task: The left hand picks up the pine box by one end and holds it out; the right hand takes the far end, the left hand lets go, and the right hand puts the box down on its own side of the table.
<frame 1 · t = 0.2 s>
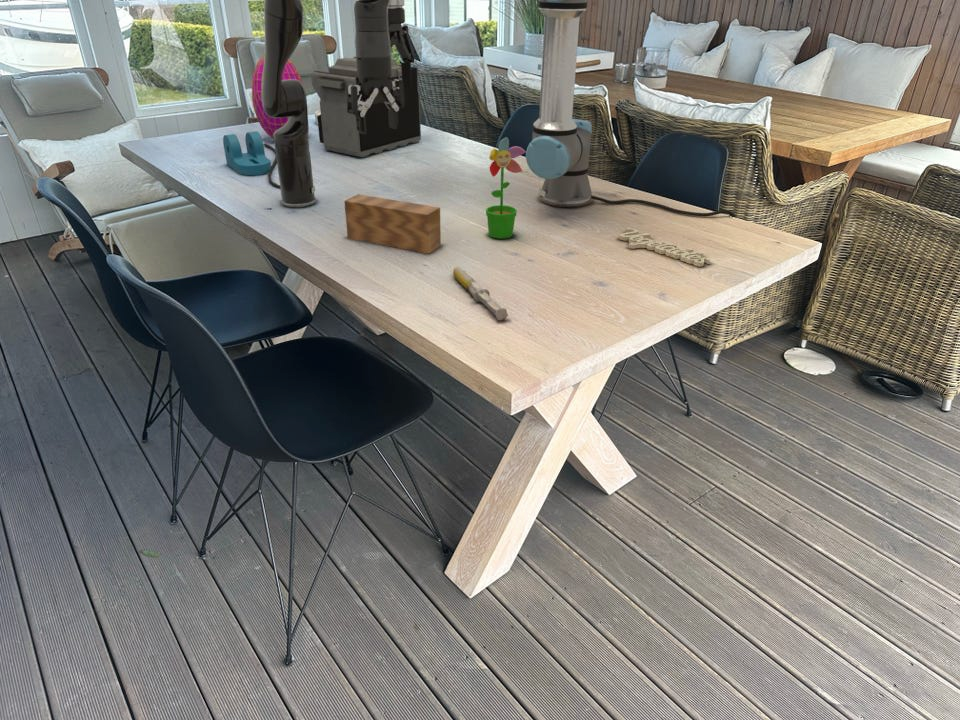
left hand: (378, 130, 156), 28 cm above the table, tool pointing down, fingers open, 8 cm apart
right hand: (395, 90, 196), 29 cm above the table, tool pointing down, fingers open, 13 cm apart
camera mount: (251, 168, 229), on the table
ashtray: (343, 122, 294), on the table
decorative sign: (659, 250, 169), on the table
box: (393, 241, 172), on the table
potted flower: (501, 235, 177), on the table
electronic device: (371, 146, 258), on the table
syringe: (478, 297, 145), on the table
decorative egg: (284, 140, 265), on the table
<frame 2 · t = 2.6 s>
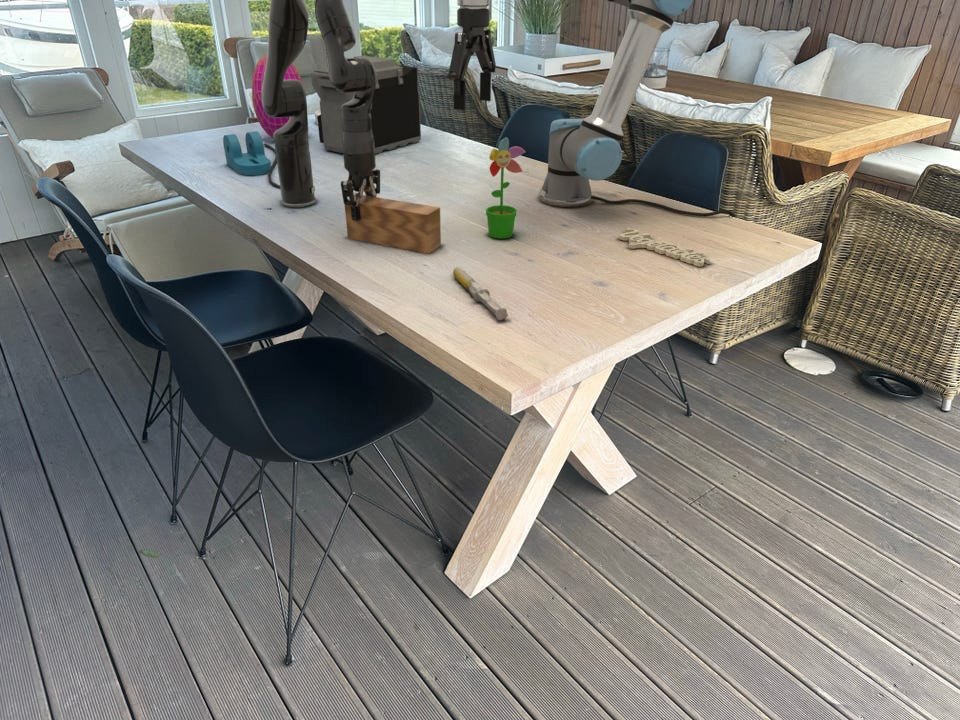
left hand: (364, 216, 173), 5 cm above the table, tool pointing down, fingers closed on box, 6 cm apart
right hand: (472, 105, 168), 31 cm above the table, tool pointing down, fingers open, 13 cm apart
box: (393, 241, 172), on the table, touching left hand
everything else where it was.
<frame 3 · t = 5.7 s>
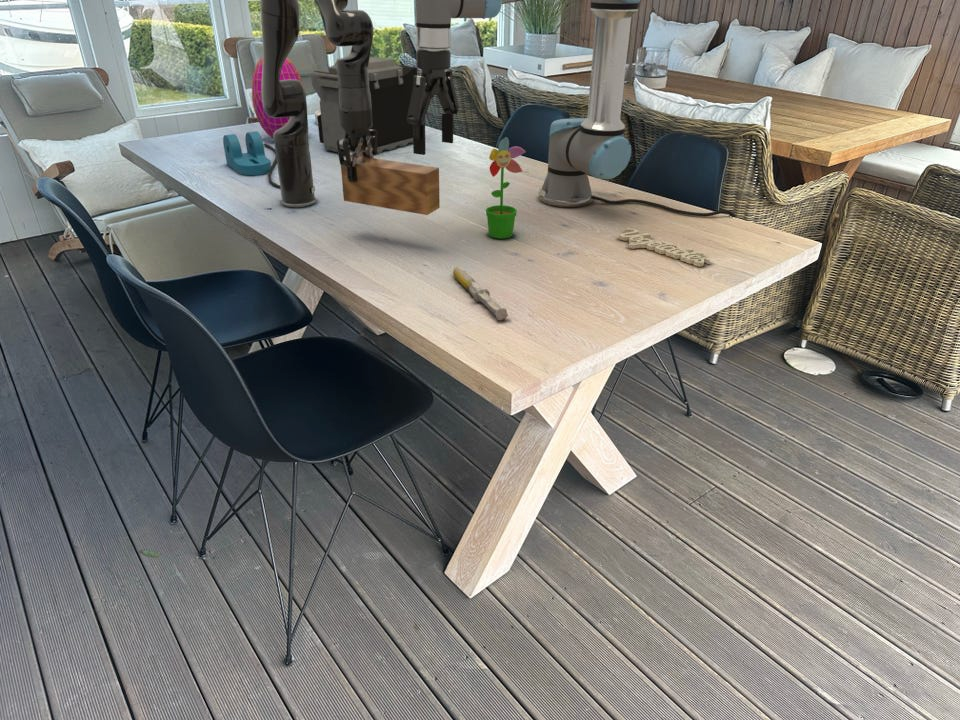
left hand: (360, 177, 168), 15 cm above the table, tool pointing down, fingers closed on box, 6 cm apart
right hand: (434, 148, 161), 23 cm above the table, tool pointing down, fingers open, 13 cm apart
box: (391, 204, 168), point 10 cm above the table, touching left hand
everything else where it was.
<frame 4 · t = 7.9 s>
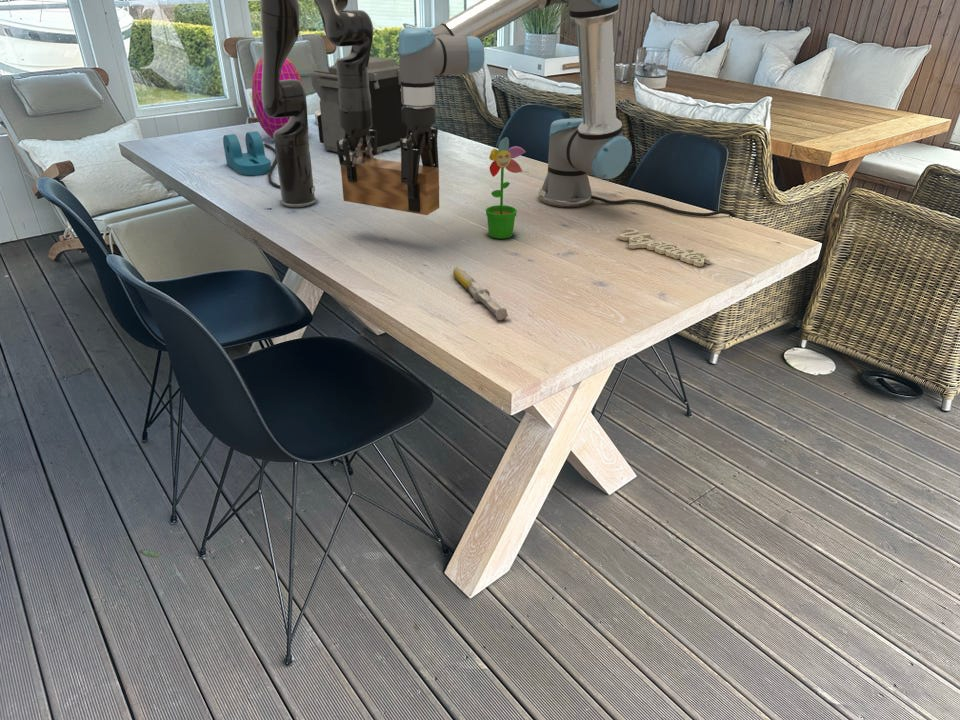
left hand: (360, 177, 168), 15 cm above the table, tool pointing down, fingers closed on box, 6 cm apart
right hand: (421, 206, 164), 10 cm above the table, tool pointing down, fingers closed on box, 6 cm apart
box: (391, 204, 168), point 10 cm above the table, touching right hand, left hand
everything else where it was.
when the left hand's fingers open (15 cm above the table, at t = 8.9 s): box stays where it is, held by the right hand.
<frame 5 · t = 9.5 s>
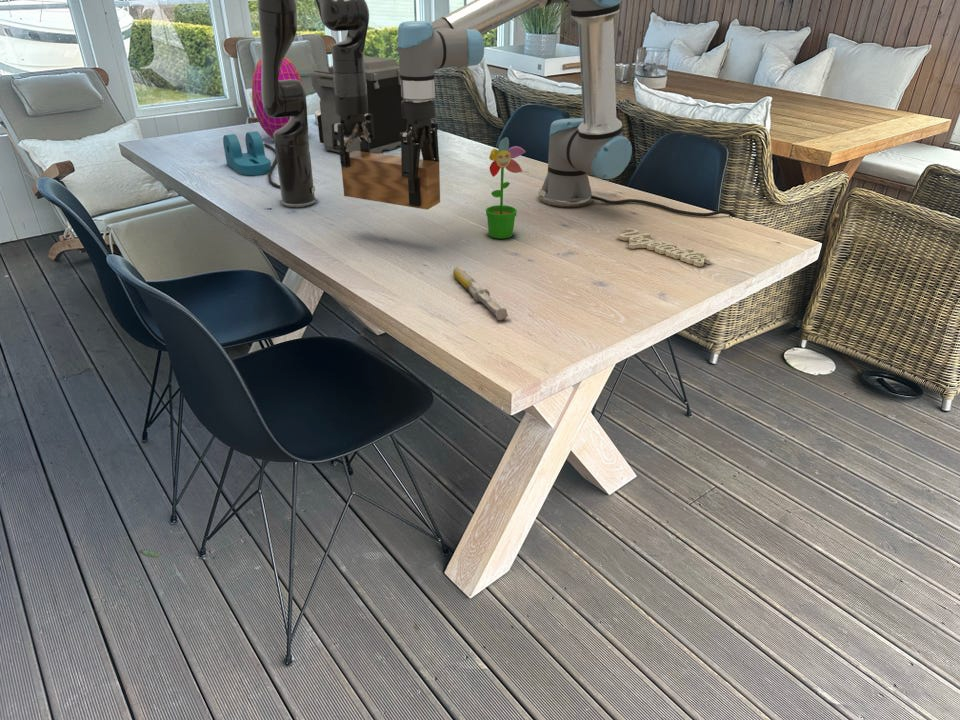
left hand: (355, 162, 167), 19 cm above the table, tool pointing down, fingers open, 8 cm apart
right hand: (422, 200, 164), 12 cm above the table, tool pointing down, fingers closed on box, 6 cm apart
box: (391, 199, 167), point 11 cm above the table, touching right hand
everything else where it was.
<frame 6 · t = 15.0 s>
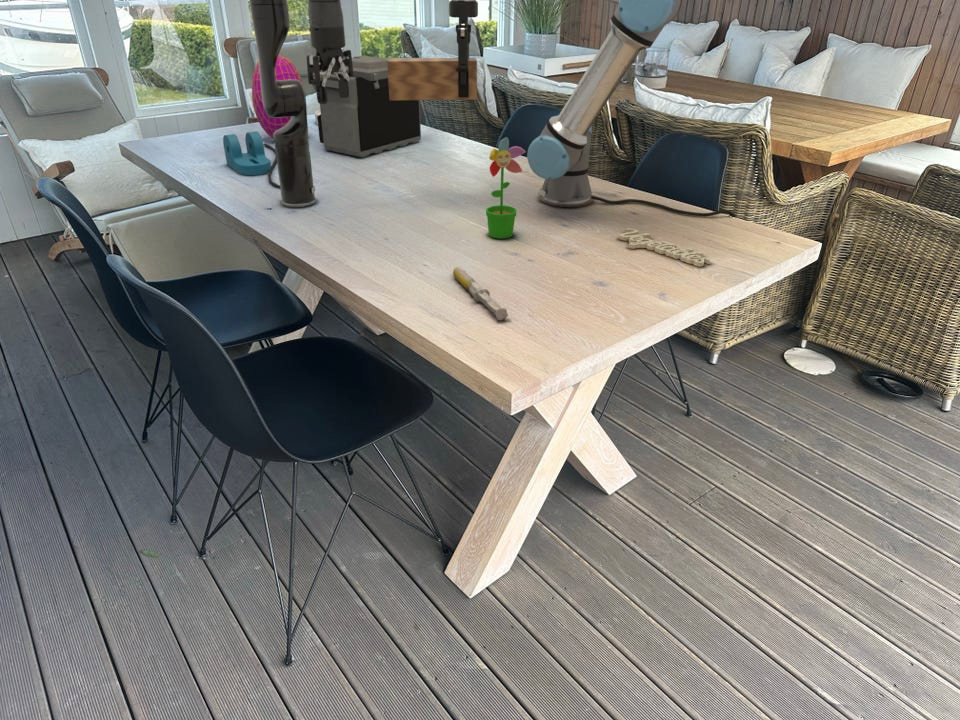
left hand: (333, 100, 161), 32 cm above the table, tool pointing down, fingers open, 8 cm apart
right hand: (464, 94, 188), 29 cm above the table, tool pointing down, fingers closed on box, 6 cm apart
box: (433, 97, 188), point 29 cm above the table, touching right hand
everything else where it was.
when the right hand's fingers open (2 cm above the table, at t = 22.1 s): box drops 1 cm, on the table.
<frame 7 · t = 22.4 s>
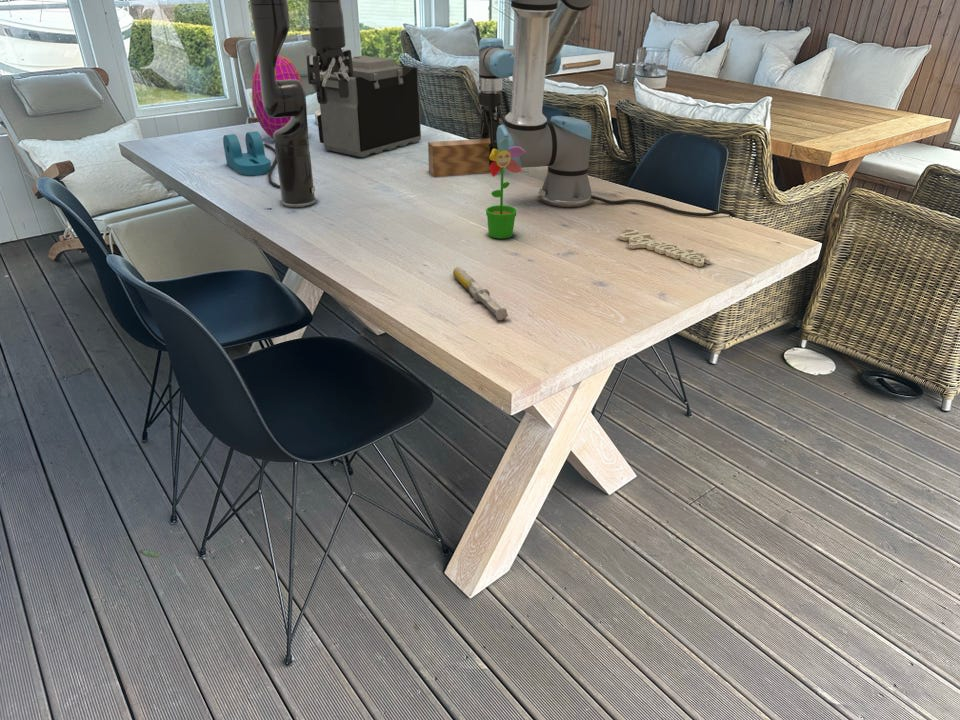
left hand: (333, 100, 161), 32 cm above the table, tool pointing down, fingers open, 8 cm apart
right hand: (489, 161, 230), 3 cm above the table, tool pointing down, fingers open, 10 cm apart
box: (465, 171, 229), on the table
everything else where it was.
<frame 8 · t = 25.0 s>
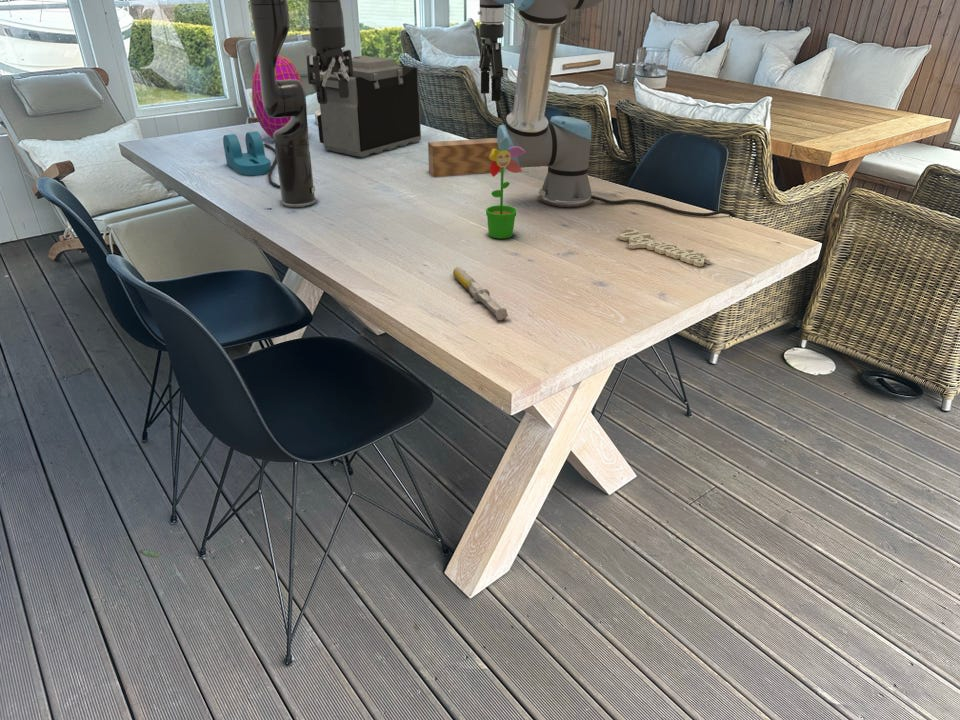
left hand: (333, 100, 161), 32 cm above the table, tool pointing down, fingers open, 8 cm apart
right hand: (490, 97, 219), 23 cm above the table, tool pointing down, fingers open, 13 cm apart
nothing on the table moved.
at the end: box inside the target area (8.4 cm from its centre), on the table; the left hand is holding nothing; the right hand is holding nothing; box at rest at the end (0.0 cm/s) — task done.
